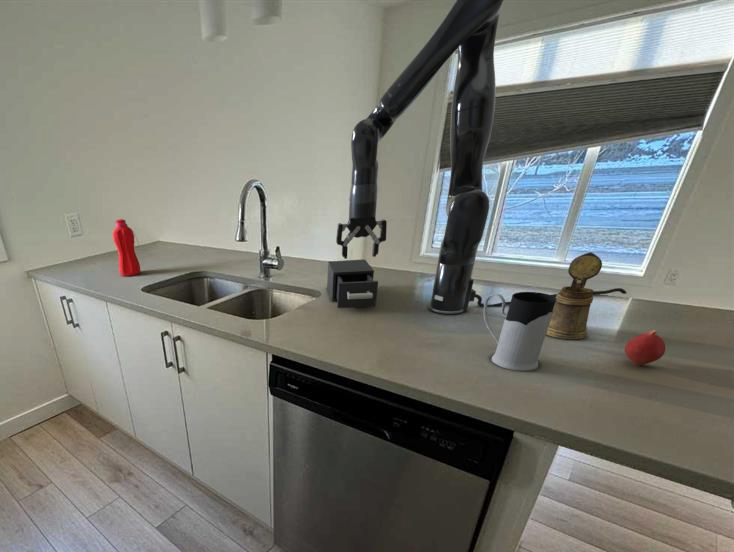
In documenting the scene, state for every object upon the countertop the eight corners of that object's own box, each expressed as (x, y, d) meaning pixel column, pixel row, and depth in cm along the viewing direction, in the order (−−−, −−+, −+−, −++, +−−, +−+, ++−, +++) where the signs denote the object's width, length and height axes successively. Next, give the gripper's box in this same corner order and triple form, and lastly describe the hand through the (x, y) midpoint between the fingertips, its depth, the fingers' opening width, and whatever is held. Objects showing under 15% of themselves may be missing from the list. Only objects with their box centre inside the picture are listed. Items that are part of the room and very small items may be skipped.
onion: (611, 360, 87) (626, 326, 83) (636, 357, 88) (652, 323, 84) (637, 372, 82) (654, 337, 78) (664, 369, 83) (682, 333, 79)
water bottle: (142, 275, 191) (131, 219, 179) (119, 277, 191) (107, 221, 179) (145, 270, 199) (136, 216, 187) (123, 272, 200) (112, 219, 187)
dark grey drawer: (378, 311, 122) (381, 286, 118) (339, 313, 123) (341, 288, 119) (366, 292, 138) (368, 269, 134) (332, 294, 140) (333, 271, 136)
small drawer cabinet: (371, 299, 134) (374, 270, 130) (332, 301, 136) (333, 272, 131) (362, 286, 148) (364, 259, 143) (327, 287, 150) (328, 261, 145)
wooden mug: (587, 324, 104) (615, 253, 95) (584, 342, 96) (613, 266, 87) (545, 318, 110) (567, 250, 101) (538, 335, 101) (562, 262, 92)
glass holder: (520, 374, 86) (542, 307, 78) (461, 351, 97) (475, 290, 90) (547, 364, 88) (570, 298, 81) (487, 342, 100) (502, 283, 92)
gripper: (339, 204, 114) (337, 261, 122) (391, 199, 112) (386, 258, 120) (336, 201, 121) (334, 256, 129) (385, 196, 119) (381, 252, 127)
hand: (359, 257), depth 124 cm, fingers open, 8 cm apart
